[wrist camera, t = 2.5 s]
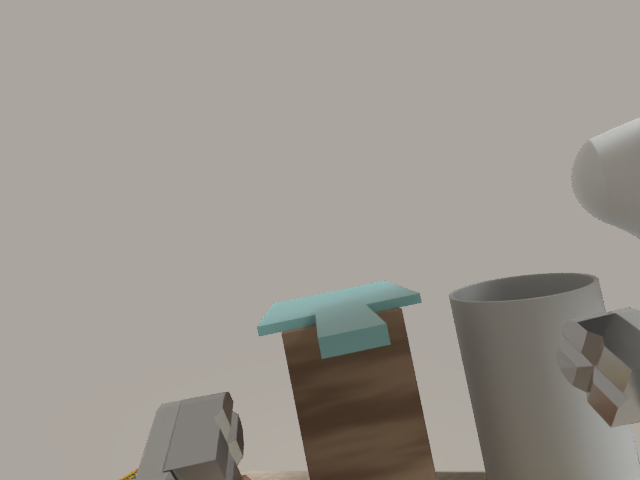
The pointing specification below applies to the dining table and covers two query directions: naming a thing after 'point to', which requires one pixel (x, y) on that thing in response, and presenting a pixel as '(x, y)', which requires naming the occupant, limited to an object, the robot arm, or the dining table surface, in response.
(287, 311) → the teal flat board
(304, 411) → the pedestal
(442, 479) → the dining table surface
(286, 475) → the dining table surface
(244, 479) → the peach faceted hollow pot
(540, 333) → the cylinder vase
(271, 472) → the dining table surface
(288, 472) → the dining table surface
